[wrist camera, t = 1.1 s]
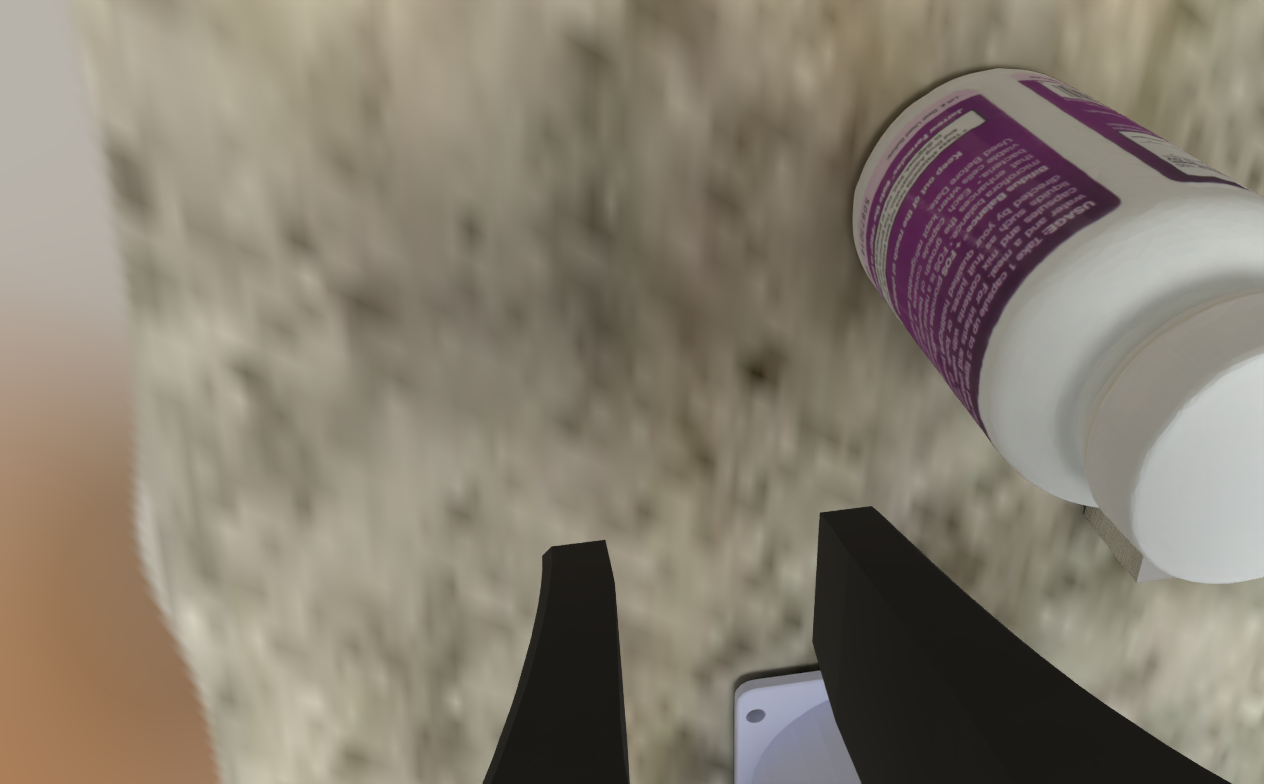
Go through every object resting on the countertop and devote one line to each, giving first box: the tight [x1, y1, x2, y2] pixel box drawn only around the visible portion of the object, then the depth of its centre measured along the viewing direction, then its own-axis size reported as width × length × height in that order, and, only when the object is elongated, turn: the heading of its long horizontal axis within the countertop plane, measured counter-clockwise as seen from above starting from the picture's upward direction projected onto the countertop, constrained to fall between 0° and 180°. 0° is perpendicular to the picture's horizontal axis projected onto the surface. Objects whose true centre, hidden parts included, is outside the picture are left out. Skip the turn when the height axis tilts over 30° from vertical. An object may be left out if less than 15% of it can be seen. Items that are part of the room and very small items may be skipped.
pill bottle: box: [853, 68, 1264, 583], centre depth 18 cm, size 5×5×10 cm
